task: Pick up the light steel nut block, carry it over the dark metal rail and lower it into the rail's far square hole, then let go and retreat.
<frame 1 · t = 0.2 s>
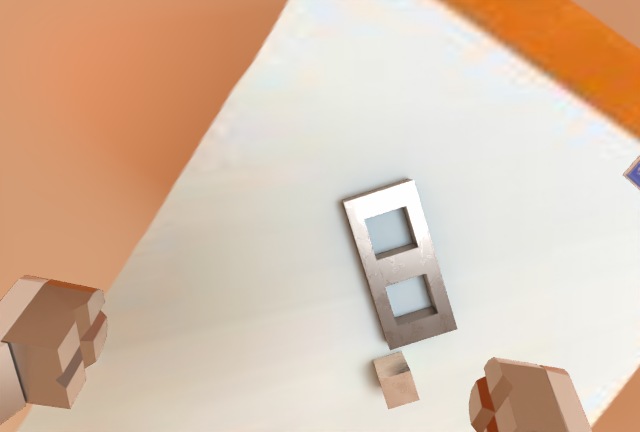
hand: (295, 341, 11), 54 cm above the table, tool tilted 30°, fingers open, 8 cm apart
nut block: (391, 368, 68), on the table
rail: (397, 261, 66), on the table
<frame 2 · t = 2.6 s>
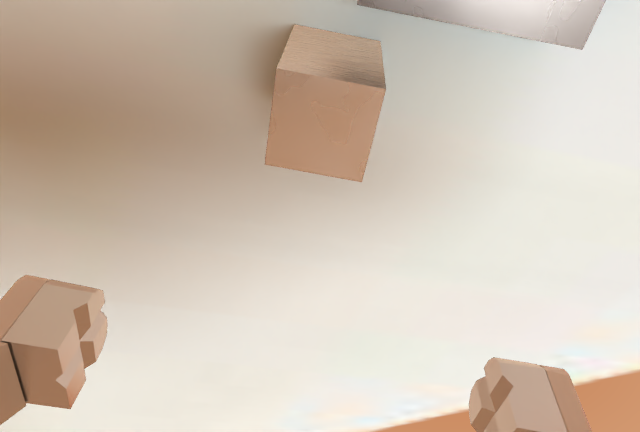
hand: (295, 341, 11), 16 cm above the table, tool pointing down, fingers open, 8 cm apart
nut block: (329, 74, 24), on the table
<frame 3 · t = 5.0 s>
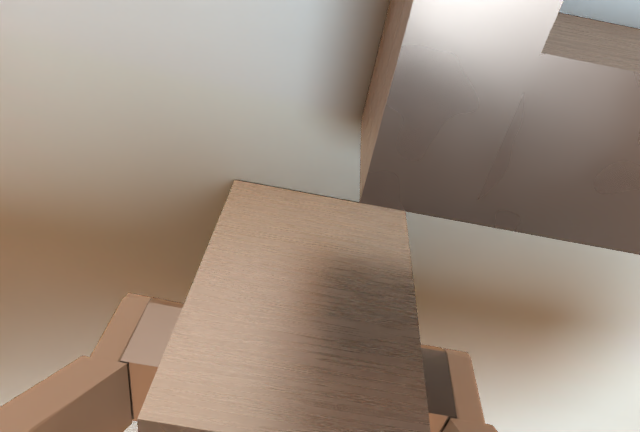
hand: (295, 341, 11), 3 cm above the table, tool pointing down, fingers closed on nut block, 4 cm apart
nut block: (307, 260, 13), on the table, touching gripper
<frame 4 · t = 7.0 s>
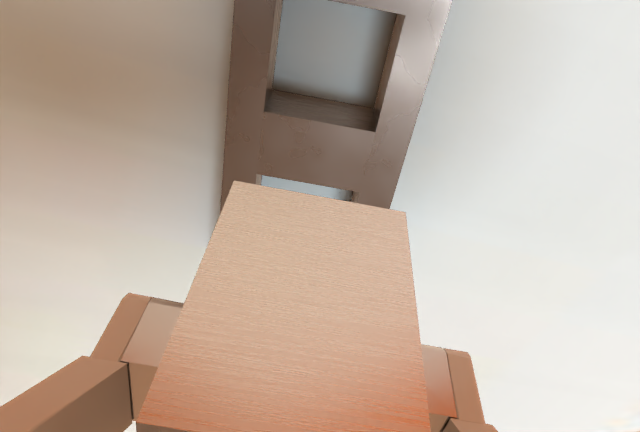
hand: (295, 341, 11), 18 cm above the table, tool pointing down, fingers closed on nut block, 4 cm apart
nut block: (306, 261, 13), point 16 cm above the table, touching gripper
rail: (317, 128, 28), on the table
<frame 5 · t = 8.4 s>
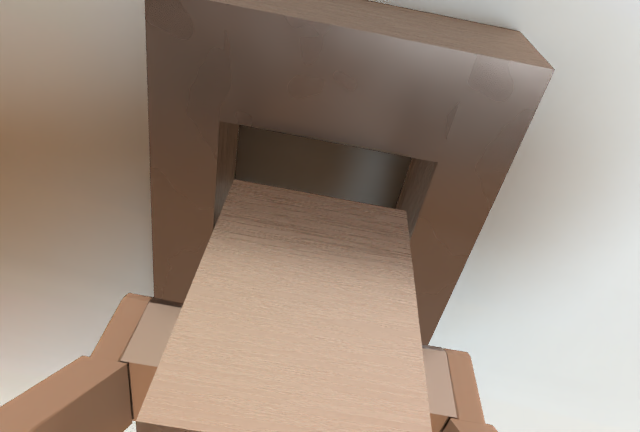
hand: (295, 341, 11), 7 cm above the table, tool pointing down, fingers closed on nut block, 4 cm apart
nut block: (307, 260, 13), point 5 cm above the table, touching gripper
rail: (299, 273, 19), on the table
when the fingers open (4 cm above the table, at t = 9.3 s): nut block drops 2 cm, resting in rail.
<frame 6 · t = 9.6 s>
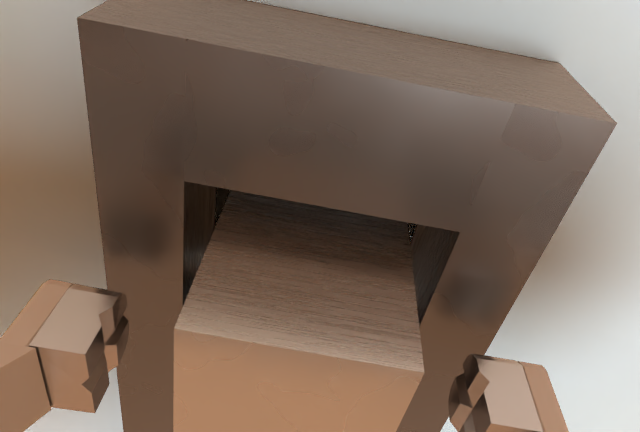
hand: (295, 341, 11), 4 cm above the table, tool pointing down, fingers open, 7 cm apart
nut block: (312, 223, 14), resting in rail
rail: (291, 332, 16), on the table
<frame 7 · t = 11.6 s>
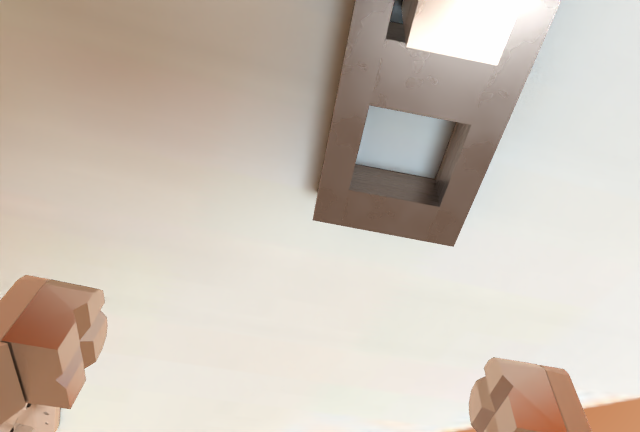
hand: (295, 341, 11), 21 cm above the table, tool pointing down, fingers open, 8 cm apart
rail: (426, 62, 28), on the table
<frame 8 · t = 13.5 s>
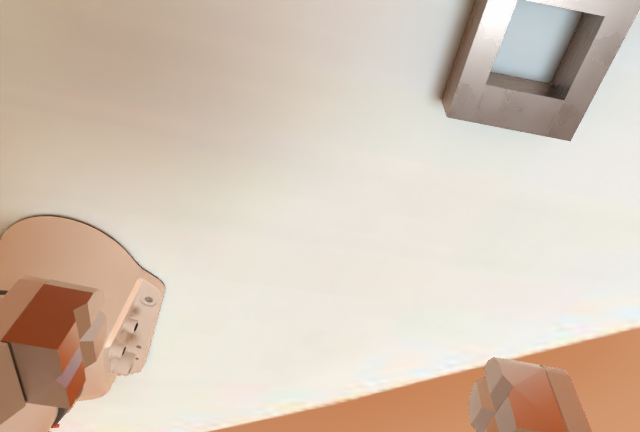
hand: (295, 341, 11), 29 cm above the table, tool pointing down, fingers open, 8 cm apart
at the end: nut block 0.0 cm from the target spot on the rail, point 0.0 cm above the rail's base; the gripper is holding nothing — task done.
